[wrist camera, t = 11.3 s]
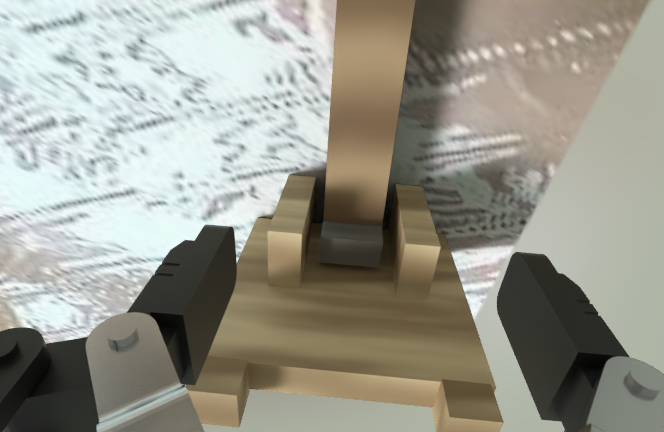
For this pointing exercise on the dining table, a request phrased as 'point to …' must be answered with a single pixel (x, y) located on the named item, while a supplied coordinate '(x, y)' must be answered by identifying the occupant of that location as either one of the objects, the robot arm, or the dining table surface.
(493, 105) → the dining table surface
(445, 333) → the wooden post stand
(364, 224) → the rail
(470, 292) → the dining table surface
